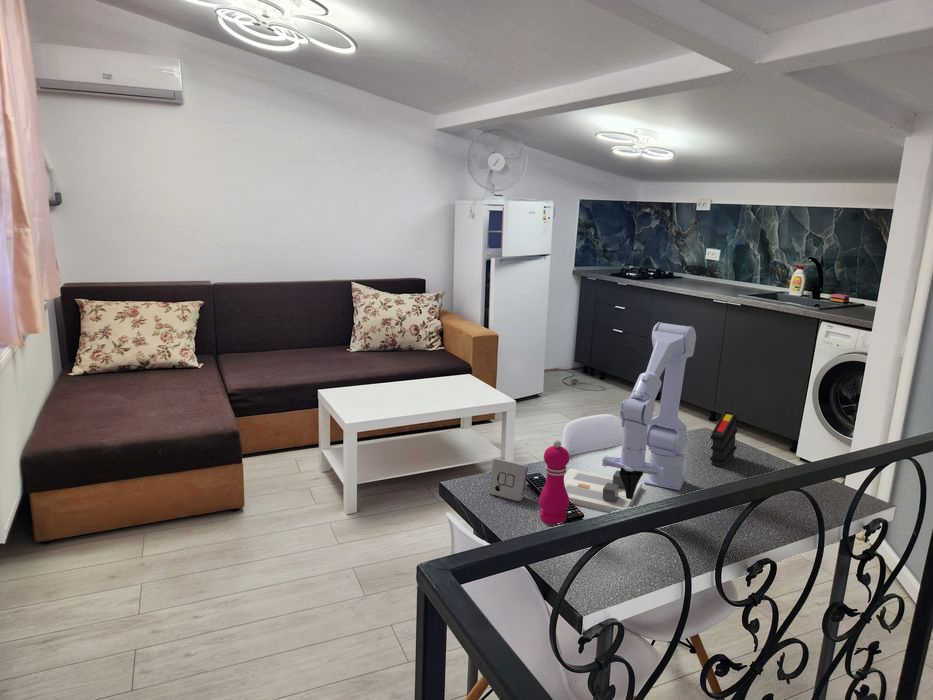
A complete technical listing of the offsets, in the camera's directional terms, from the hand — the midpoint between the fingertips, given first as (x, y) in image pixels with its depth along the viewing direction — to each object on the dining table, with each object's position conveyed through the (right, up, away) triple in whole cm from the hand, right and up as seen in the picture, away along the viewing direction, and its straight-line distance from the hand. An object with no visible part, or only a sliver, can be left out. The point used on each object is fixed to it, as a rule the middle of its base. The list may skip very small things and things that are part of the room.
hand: (629, 497), depth 164 cm
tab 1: (-4, 0, +2) cm, 5 cm away
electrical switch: (-30, -1, +7) cm, 31 cm away
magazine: (+35, +3, +31) cm, 47 cm away
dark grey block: (0, +1, +10) cm, 10 cm away
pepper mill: (-20, -4, -5) cm, 21 cm away
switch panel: (-7, -1, +9) cm, 11 cm away
